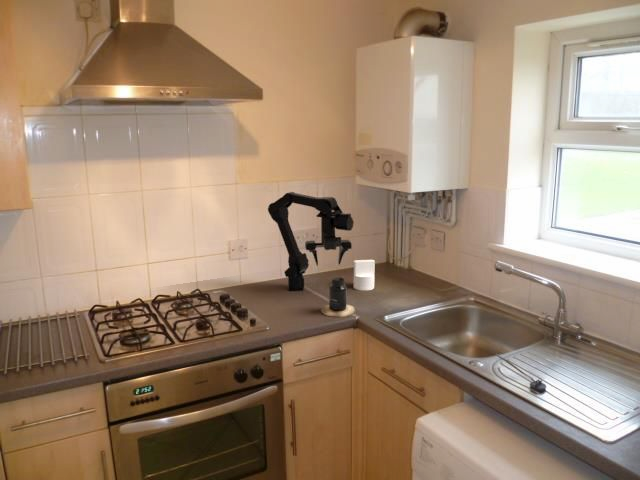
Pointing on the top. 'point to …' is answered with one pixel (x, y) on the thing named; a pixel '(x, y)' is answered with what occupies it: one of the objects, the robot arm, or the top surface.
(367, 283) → the cylinder with rectangular tab
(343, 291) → the supplement bottle
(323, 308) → the beige round plate
